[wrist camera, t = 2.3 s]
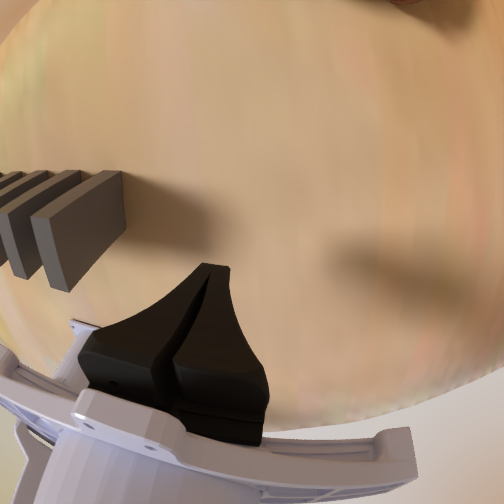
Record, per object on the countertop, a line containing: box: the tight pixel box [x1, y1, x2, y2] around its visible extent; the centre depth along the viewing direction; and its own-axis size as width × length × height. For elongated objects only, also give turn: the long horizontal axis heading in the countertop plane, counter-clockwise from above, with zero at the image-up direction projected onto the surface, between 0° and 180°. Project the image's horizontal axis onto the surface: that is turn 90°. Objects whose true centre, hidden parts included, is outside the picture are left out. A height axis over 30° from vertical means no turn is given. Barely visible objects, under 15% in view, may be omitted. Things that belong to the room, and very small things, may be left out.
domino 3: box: [0, 170, 48, 267], centre depth 17 cm, size 5×2×8 cm, turn 174°
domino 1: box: [30, 170, 126, 293], centre depth 17 cm, size 5×2×8 cm, turn 174°
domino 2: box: [0, 170, 81, 280], centre depth 17 cm, size 5×2×8 cm, turn 174°
